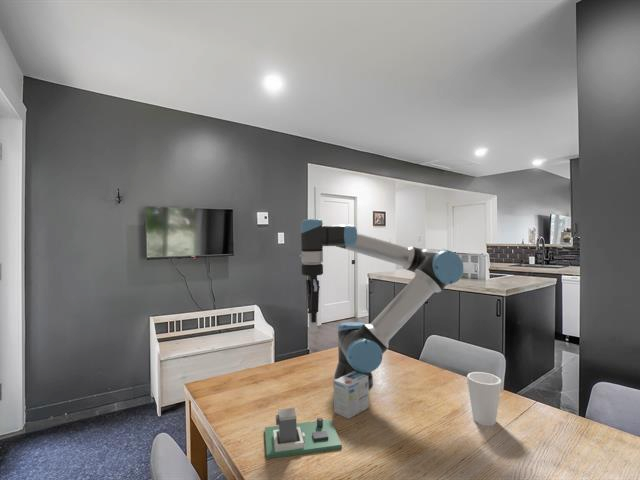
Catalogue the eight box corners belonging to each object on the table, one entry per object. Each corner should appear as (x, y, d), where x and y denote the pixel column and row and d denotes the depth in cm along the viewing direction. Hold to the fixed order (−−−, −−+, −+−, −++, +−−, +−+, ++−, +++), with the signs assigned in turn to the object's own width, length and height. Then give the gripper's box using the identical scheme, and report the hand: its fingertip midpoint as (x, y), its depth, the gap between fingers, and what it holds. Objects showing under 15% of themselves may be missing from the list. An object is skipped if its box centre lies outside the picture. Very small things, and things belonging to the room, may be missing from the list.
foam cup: (498, 415, 106) (498, 374, 106) (504, 431, 98) (504, 386, 98) (466, 410, 110) (465, 370, 109) (468, 425, 101) (468, 382, 101)
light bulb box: (354, 400, 117) (353, 370, 117) (369, 407, 112) (369, 375, 112) (333, 412, 110) (332, 379, 110) (348, 420, 105) (348, 385, 105)
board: (330, 422, 103) (330, 412, 103) (341, 448, 91) (341, 437, 91) (264, 430, 99) (264, 420, 99) (266, 458, 87) (266, 447, 87)
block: (294, 435, 95) (294, 407, 95) (296, 445, 91) (296, 415, 90) (275, 438, 94) (275, 409, 94) (277, 448, 89) (276, 418, 89)
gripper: (299, 262, 123) (299, 326, 123) (304, 265, 110) (305, 337, 110) (319, 262, 125) (320, 325, 125) (326, 264, 112) (327, 335, 112)
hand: (313, 330), depth 117 cm, fingers closed
